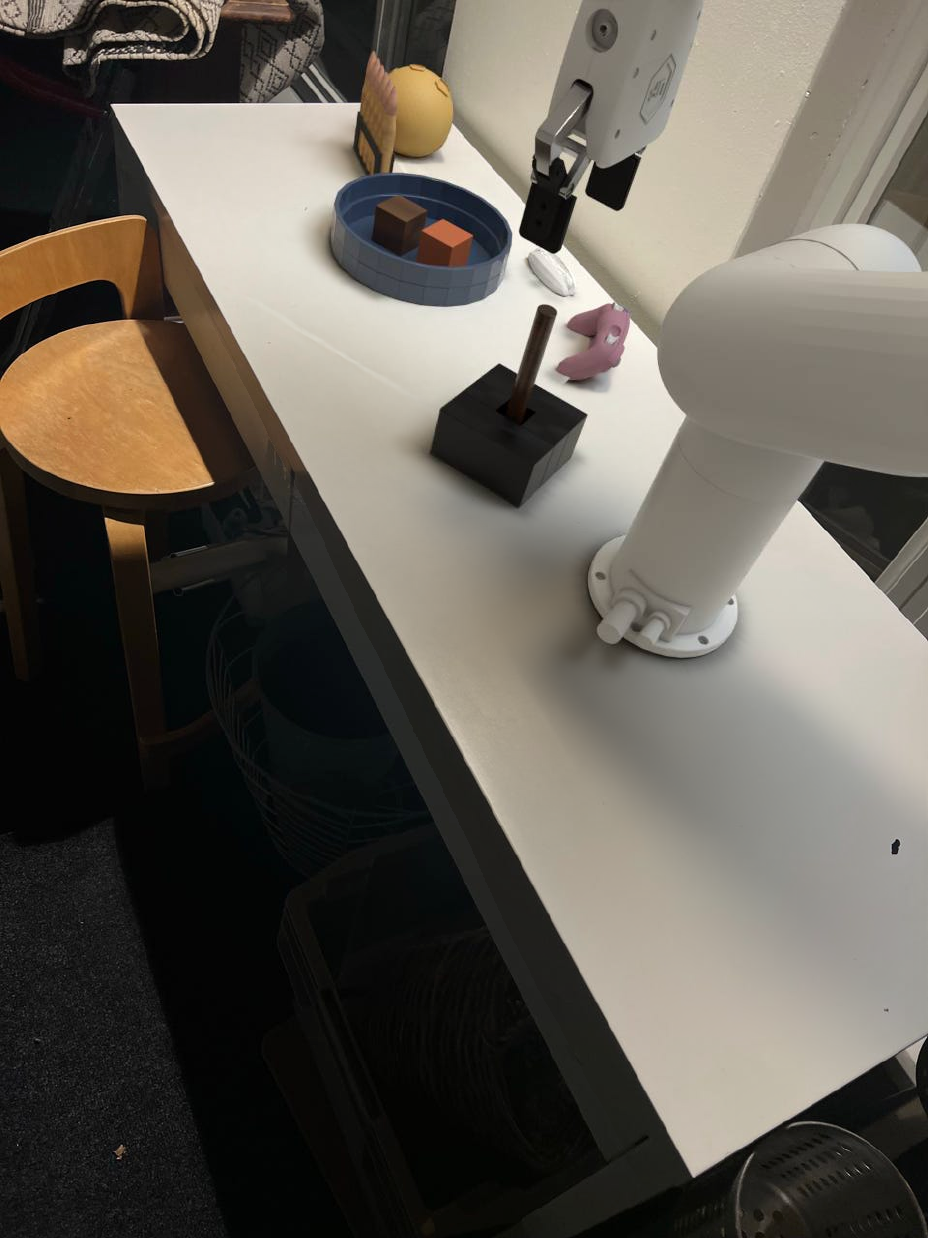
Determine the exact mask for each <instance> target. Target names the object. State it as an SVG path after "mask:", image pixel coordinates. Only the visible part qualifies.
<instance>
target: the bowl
mask: <svg viewBox="0 0 928 1238" xmlns="http://www.w3.org/2000/svg"><path fill="white" fill-rule="evenodd" d="M396 195H400V196H402V197H404V198H406V199H408V200H409V201H411V202H413V203H415V204H417V205H418V206H420V207H422V208H424V209H426V210H427V217H426V222H425V228H427V227H429V226H431V225H433V224H435V223H436V222H438V221H440V220H442V219H444V220H446V221H448V222H449V223H451V224H453V225H455V226H457V227H459V228H460V229H462V230H464V231H466V232H468V233H470V234H471V235H473V238H472V242H471V247H470V251H469V256H468V260H467V265H466V266H459V267H445V266H433V265H426V264H421V263H417V262H416V260H417V254H418V248H419V246H418V247H417V248H415V249H413V250H411V251H410V252H408V253H406V254H404V255H402V256H398V255H397V254H395V253H393V252H391V251H390V250H388V249H386V248H384V247H383V246H381V245H379V244H377V243H375V242H374V241H372V232H373V225H374V218H375V210H376V205H378V204H380V203H382V202H384V201H386V200H388V199H390V198H392V197H394V196H396ZM331 220H332V221H331V231H330V245H331V251H332V254H333V256H334V258H335V259H336V261H337V263H338V264H339V265H340V267H341V268H342V269H343V270H344V271H346V272H347V273H348V274H349V275H350V276H351V277H352V278H353V279H355V280H356V281H358V282H360V283H361V284H363V285H364V286H365V287H368V288H370V289H372V290H373V291H375V292H377V293H380V294H382V295H385V296H387V297H390V298H392V299H396V300H399V301H402V302H403V301H404V302H408V303H413V304H418V305H422V306H425V305H426V306H437V307H438V306H439V307H452V306H463V305H465V306H466V305H469V304H471V303H475V302H478V301H481V300H485V298H487V297H489V296H490V295H491V294H493V293H495V292H496V291H497V290H498V288H499V287H500V285H501V283H502V281H503V279H504V276H505V272H506V268H507V264H508V261H509V257H510V254H511V250H512V246H513V231H512V229H511V227H510V226H511V225H510V224H509V221H508V220H507V219H506V217H505V216H504V215H503V213H501V211H500V210H499V209H498V208H497V207H495V206H494V205H493V204H492V203H490V202H489V201H488V200H486V199H485V198H484V197H482V196H480V195H479V194H476V193H475V192H473V191H471V190H469V189H467V188H465V187H462V186H460V185H457V184H455V183H452V182H449V181H447V180H443V179H440V178H436V177H432V176H427V175H423V174H416V173H408V172H393V173H377V174H372V175H367V174H366V175H363V176H360V177H357V178H355V179H353V180H351V181H349V182H347V183H345V184H344V185H343V186H342V187H341V188H340V189H339V190H338V191H337V193H336V196H335V199H334V202H333V210H332V219H331ZM425 228H424V229H425Z"/></svg>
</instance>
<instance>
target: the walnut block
mask: <svg viewBox="0 0 928 1238" xmlns="http://www.w3.org/2000/svg"><path fill="white" fill-rule="evenodd" d="M426 217H427V210H426V209H424V208H422V207H420V206H418V205H417V204H415V203H413V202H411V201H409V200H408V199H406V198H404V197H402V196H400V195H396V196H394V197H392V198H390V199H388V200H386V201H384V202H382V203H380V204H378V205H376V210H375V218H374V225H373V232H372V241H374V242H375V243H377V244H379V245H381V246H383V247H384V248H386V249H388V250H390V251H391V252H393V253H395V254H397V255H398V256H402V255H404V254H406V253H408V252H410V251H411V250H413V249H415V248H417V247H418V246H419V243H420V237H421V232H422V230H423V229H424V228H425V222H426Z"/></svg>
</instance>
